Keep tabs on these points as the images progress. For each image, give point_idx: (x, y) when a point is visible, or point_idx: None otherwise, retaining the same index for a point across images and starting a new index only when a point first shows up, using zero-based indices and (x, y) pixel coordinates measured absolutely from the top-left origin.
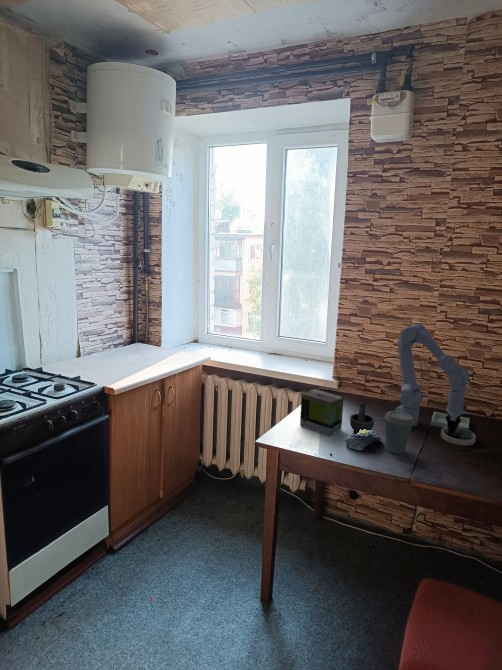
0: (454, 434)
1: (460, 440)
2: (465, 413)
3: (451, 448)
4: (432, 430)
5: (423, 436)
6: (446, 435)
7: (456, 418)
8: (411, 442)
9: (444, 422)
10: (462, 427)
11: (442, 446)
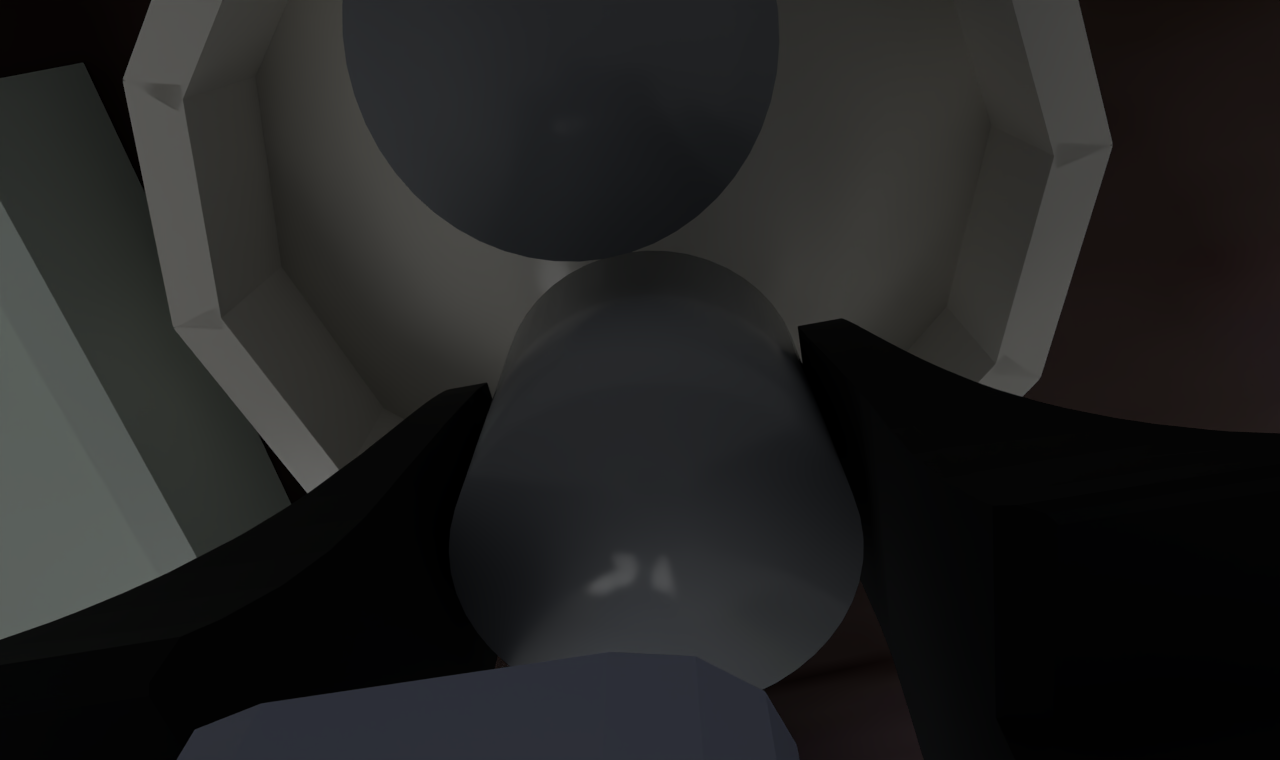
0: (774, 307)
1: (1090, 60)
2: (600, 695)
3: (1171, 178)
4: (501, 661)
5: (876, 695)
6: None
7: (1112, 739)
8: None
9: (7, 622)
10: (47, 259)
11: (1155, 353)
